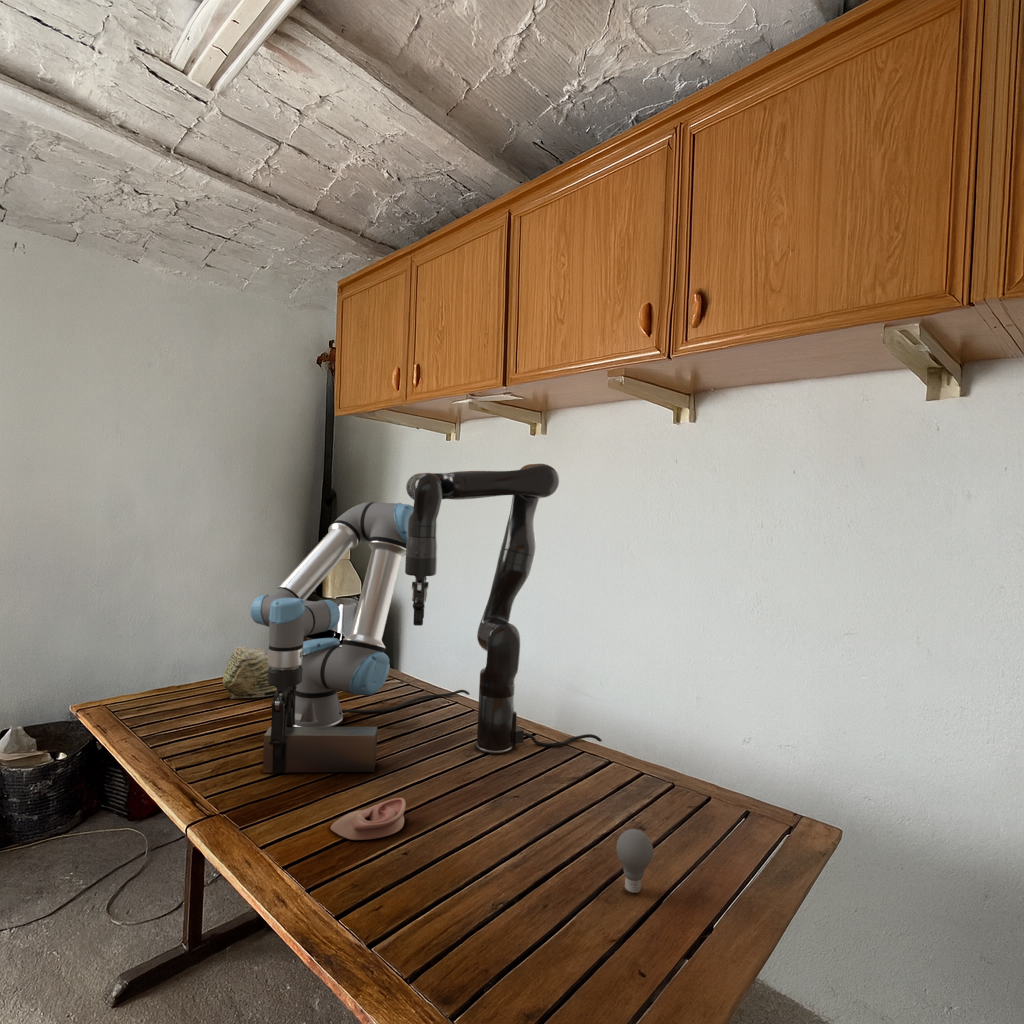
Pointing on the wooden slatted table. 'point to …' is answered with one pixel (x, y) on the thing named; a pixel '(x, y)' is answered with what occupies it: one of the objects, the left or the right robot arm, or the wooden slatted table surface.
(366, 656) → the left robot arm
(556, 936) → the wooden slatted table surface
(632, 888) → the light bulb
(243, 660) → the fossil
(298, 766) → the bar
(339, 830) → the anatomical model
